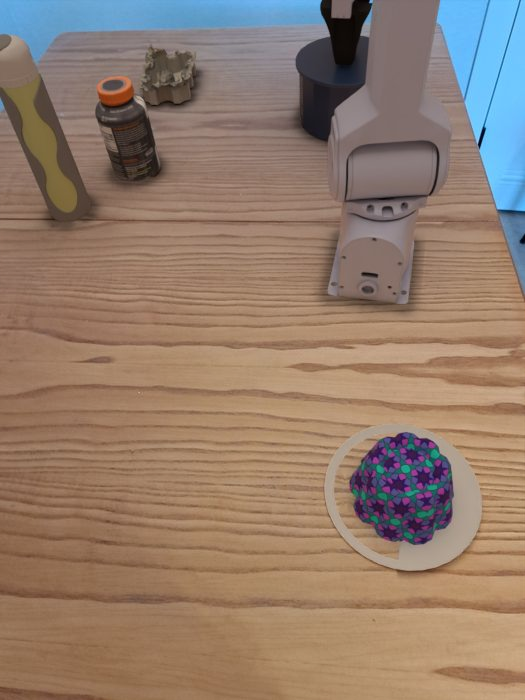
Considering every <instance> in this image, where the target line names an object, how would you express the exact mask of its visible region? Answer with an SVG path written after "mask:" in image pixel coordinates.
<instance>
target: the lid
mask: <svg viewBox="0 0 525 700" xmlns="http://www.w3.org/2000/svg"><path fill="white" fill-rule="evenodd" d="M368 47H369V36H366V35H360V39H359V42H358V45H357V50H356V54H355V57H354V61H353V63H352V65H340V64H335V61H334V56H333V51H332V44H331V38H330V36H325V37H322V38H319V39H316V40H314V41H311V42H309V43H308V44H306V45H305V46H303V47H302V48H301V49H299V51H298V53H297V54H296V56H295V69H296V71H297V73H298V74H300V75H301V76H302V77H303V78H305V79H306V80H308V81H310V82H312V83H314V84H317V85H321V86H325V87H330V88H358V87H363V86H364V85H365V81H366V70H367V58H368Z"/></svg>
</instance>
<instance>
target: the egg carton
mask: <svg viewBox="0 0 525 700" xmlns="http://www.w3.org/2000/svg"><path fill="white" fill-rule="evenodd" d="M144 58H145V61H144V64H143V65H142V70H141V74H140V76H139V91H141V90H142V92H143V96H144V101H145V103H149V104H150V105H151V106H159V104H161V103H163V102H173V104H182V103H184V102H185V101H190V100H191V99H192V93H191V88H194V85H195V83H194V78H193V77H195V76H196V75H197V68H196V60H197V51H195V50H193V51H189V50H187V49H186V50H185V52H181V51H179V50H175V52H174V55H168V53H167V51H166V49H165V48H162V47H159V48H158V47H157V48H155V47H153V44H152V43H151V44H149V45H148V47H147V49H146V52H145V57H144Z"/></svg>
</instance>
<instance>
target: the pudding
mask: <svg viewBox="0 0 525 700" xmlns="http://www.w3.org/2000/svg"><path fill="white" fill-rule="evenodd" d="M383 434H396V435H395V436H390V435H389V436H388V435H387V436H385V437H382V438H380V439H378V440H377V442H376V443H375V444H374V445H373V446H372V447H371V448H370V450H369V451H368V452H367V453H366V454H365V455H364V456H363V458H362V459H361V460H360V464H359V466H358V467H357V468H356V469H355V470H354V471H353V472H352V475H351V476H350V479H349V490H350V492H351V493H352V494H353V496H354V497H355V500H354V502H353V506H352V507H353V510H354V512H355V515H356V517H357V518H358V519H359V520H360V521H361V522H362V523H364V524H367V525H372V527H373V528H374V531H375V533H376V535H377V536H378V537H380V538H381V539H383V540H385V541H389V542H393V543H396V542H398V541H399V543H398V553H397V554H398V555H397V559H396V558H392V557H389V556H386V555H383V554H380V553H378V552H376V551H375V550H372V549H371V548H369V547H368V546H366V545H365V544H364V543H362V542H361V541H360V540H359V539H358V538H357V537H356V536H354V534H353V533H352V532H351V531H350V530H349V529H348V527H347V525H346V524H345V522H344V521H343V519H342V517H341V515H340V512H339V510H338V506H337V503H336V498H335V482H336V481H335V480H336V476H337V474H338V473H337V472H338V471H339V470H338V469H339V467H340V465H341V463H342V461H343V459H344V458H345V457H346V455H347V454H348V453H349V452H350V451H351V450H352V449H354V447H356V446H357V445H358V444H360V443H362V442H363V441H365V440H368V439H370V438H373V437H375V436H379V435H383ZM323 490H324V491H323V492H324V493H323V494H324V501H325V505H326V509H327V513H328V515H329V517H330V519H331V522H332V523H333V526H334V528H335V529H336V530H337V532H338V533H339V534H340V537H341V538H342V539H344V541H346V543H347V544H348V545H349V546H350V547H351V548H352V549H354V550H355V551H356V552H357V553H359V554H360V555H362V556H363V557H365V558H366V559H368V560H370V561H372V562H374V563H376V564H378V565H381V566H383V567H387V568H390V569H394V570H399V571H406V572H407V571H408V572H409V571H410V572H411V571H425V570H430V569H434V568H438V567H441V566H442V565H445V564H447V563H449V562H451V561H453V560H454V559H456V558H457V557H458V556H460V555H461V554H462V553H464V551H465V550H466V549H467V548H468V547H469V546H470V544H471V543H472V541H473V540H474V538H475V537H476V535H477V533H478V530H479V527H480V525H481V521H482V515H483V495H482V490H481V486H480V483H479V480H478V478H477V476H476V474H475V471H474V469H473V468H472V467H471V465H470V463H469V461H468V460H467V458H466V457H464V455H463V454H462V453H461V452H460V450H458V449H457V448H456V447H455V446H454V445H452V444H451V442H449V441H448V440H447V439H445V438H444V437H442V436H440V435H438V434H437V433H435V432H432V431H431V430H428V429H426V428H423V427H421V426H416V425H413V424H406V423H398V422H395V423H381V424H377V425H371V426H369V427H366V428H364V429H361V430H359V431H358V432H356V433H354V434H352V435H351V436H349V437H348V438H347V439H346V440H344V441H343V442H342V443H341V445H339V447H338V448H337V449H336V451H335V452H334V453H333V455H332V456H331V459H330V461H329V463H328V465H327V469H326V472H325V476H324V485H323Z"/></svg>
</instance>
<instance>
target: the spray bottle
mask: <svg viewBox="0 0 525 700" xmlns="http://www.w3.org/2000/svg"><path fill="white" fill-rule="evenodd" d="M0 100H1V103H2V105H3V107H4V110H5V112H6V114H7V117H8V120H9V121H10V124H11V126H12V128H13V131H14V133H15V135H16V138H17V140H18V142H19V145H20V148H21V149H22V152H23V154H24V156H25V159H26V160H27V161H26V162H27V163H28V166H29V167H30V170H31V172H32V175H33V177H34V179H35V181H36V184H37V185H38V188H39V191H40V193H41V195H42V197H43V200H44V202H45V204H46V207H47V209H48V211H49V214H50V216H51V218H52V219H54V220H55V221H57V222H62V223H68V222H69V223H71V222H75V221H79V220H80V219H82V218H84V217H85V216H86V215H87V214H88V213H89V212H90V211H91V209H92V201H91V199H90V196H89V194H88V191H87V189H86V185H85V184H84V181H83V178H82V175H81V173H80V170H79V167H78V165H77V163H76V161H75V158H74V156H73V153H72V150H71V148H70V146H69V143H68V140H67V137H66V135H65V133H64V130H63V127H62V124H61V122H60V120H59V117H58V115H57V113H56V110H55V107H54V104H53V102H52V99H51V98H50V95H49V91H48V89H47V87H46V85H45V82H44V79H43V76H42V74H41V73H40V72H39V70H38V67H37V64H36V62H35V60H34V57H33V55H32V53H31V49H30V46H29V45H28V43H27V42H26V41H25V40H24V39H22V38H21V37H19V36H17V35H13V34H7V33H2V34H1V33H0Z"/></svg>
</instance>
